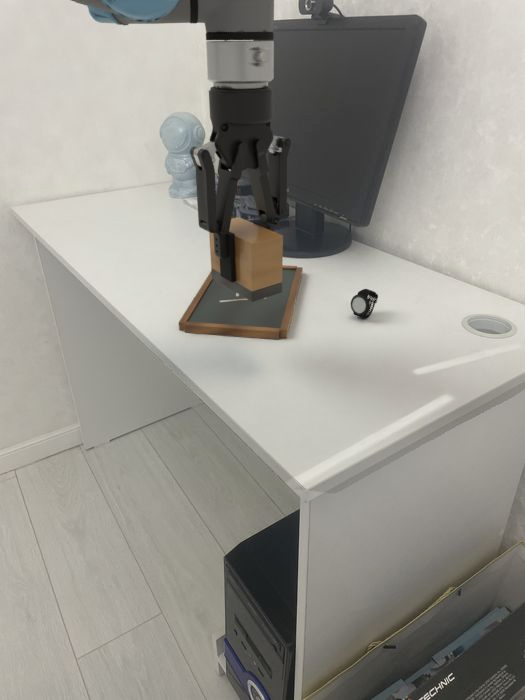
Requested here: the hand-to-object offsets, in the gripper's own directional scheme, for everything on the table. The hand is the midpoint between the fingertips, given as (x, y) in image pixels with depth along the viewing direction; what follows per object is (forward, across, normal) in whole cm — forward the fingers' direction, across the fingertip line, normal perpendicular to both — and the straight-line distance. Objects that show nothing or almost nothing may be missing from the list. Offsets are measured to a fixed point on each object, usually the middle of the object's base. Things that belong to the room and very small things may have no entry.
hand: (245, 273), depth 71 cm
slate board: (+15, +13, +18) cm, 27 cm away
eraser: (+2, 0, 0) cm, 2 cm away
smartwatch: (+15, +25, -1) cm, 29 cm away
